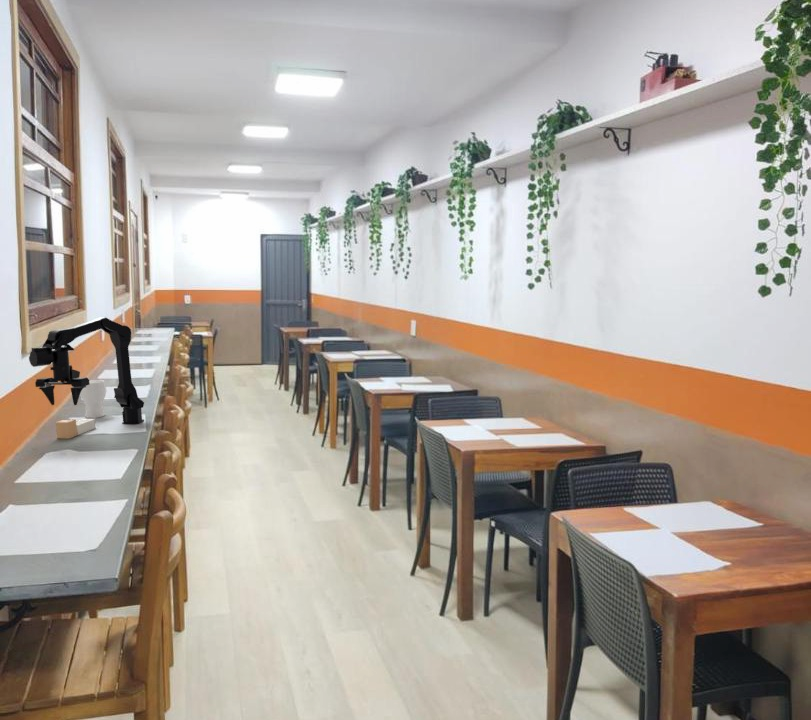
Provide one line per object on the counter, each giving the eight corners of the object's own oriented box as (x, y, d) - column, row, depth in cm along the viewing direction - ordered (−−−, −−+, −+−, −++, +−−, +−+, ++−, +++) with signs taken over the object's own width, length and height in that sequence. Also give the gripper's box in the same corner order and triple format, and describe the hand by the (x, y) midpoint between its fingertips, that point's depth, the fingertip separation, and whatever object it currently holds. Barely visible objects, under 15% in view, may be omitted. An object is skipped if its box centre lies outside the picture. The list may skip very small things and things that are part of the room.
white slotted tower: (95, 427, 295) (94, 418, 294) (77, 434, 283) (77, 425, 283) (83, 427, 296) (83, 418, 295) (65, 434, 284) (64, 425, 283)
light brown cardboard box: (77, 435, 283) (75, 419, 282) (69, 438, 278) (67, 422, 277) (65, 435, 283) (63, 419, 282) (57, 438, 278) (55, 422, 278)
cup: (75, 417, 316) (72, 382, 314) (96, 413, 326) (93, 379, 324) (93, 419, 311) (90, 384, 309) (113, 414, 321) (111, 380, 319)
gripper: (96, 360, 284) (99, 401, 286) (51, 360, 287) (54, 401, 288) (79, 364, 273) (82, 406, 275) (32, 364, 276) (36, 406, 278)
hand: (64, 405), depth 279 cm, fingers open, 9 cm apart
